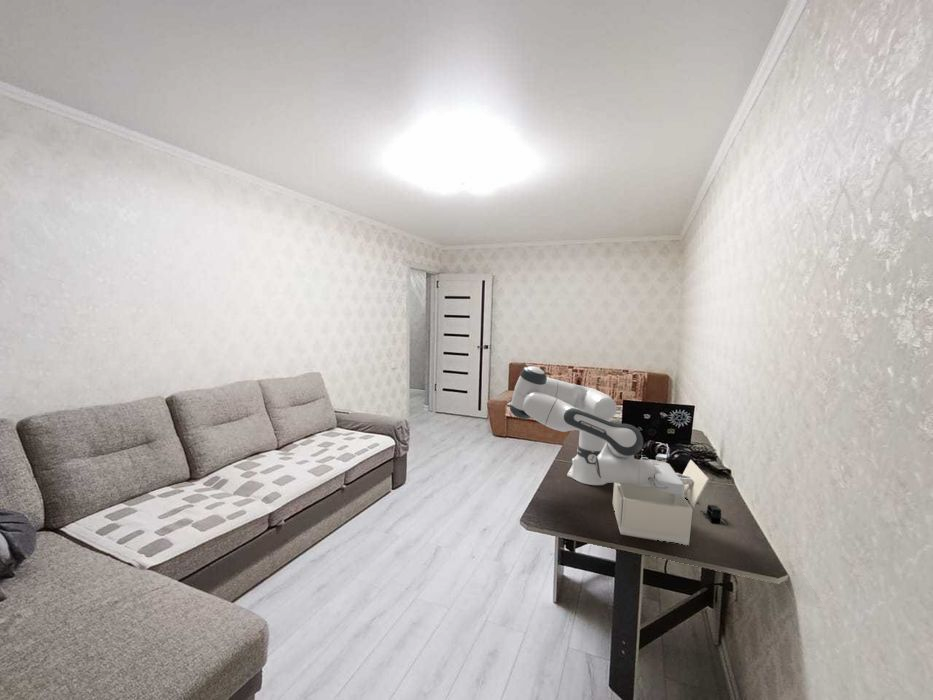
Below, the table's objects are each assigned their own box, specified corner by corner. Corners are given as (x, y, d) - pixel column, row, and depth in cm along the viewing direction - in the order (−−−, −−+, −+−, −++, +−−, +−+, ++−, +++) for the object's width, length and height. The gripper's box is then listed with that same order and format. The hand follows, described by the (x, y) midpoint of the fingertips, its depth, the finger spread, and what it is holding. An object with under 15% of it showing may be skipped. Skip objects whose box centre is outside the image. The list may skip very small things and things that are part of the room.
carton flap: (690, 459, 136) (691, 460, 136) (677, 484, 138) (678, 484, 138) (708, 478, 120) (709, 479, 120) (692, 506, 121) (693, 506, 121)
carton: (611, 507, 145) (614, 476, 144) (672, 517, 140) (675, 484, 139) (618, 535, 126) (621, 499, 125) (689, 546, 121) (693, 509, 120)
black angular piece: (695, 509, 148) (696, 498, 147) (716, 512, 147) (717, 500, 146) (710, 527, 136) (711, 514, 135) (733, 529, 134) (734, 517, 134)
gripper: (653, 476, 122) (702, 483, 118) (641, 455, 142) (683, 461, 138) (651, 496, 122) (700, 503, 119) (639, 472, 142) (681, 478, 139)
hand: (691, 480), depth 129 cm, fingers closed, pressing on carton flap
